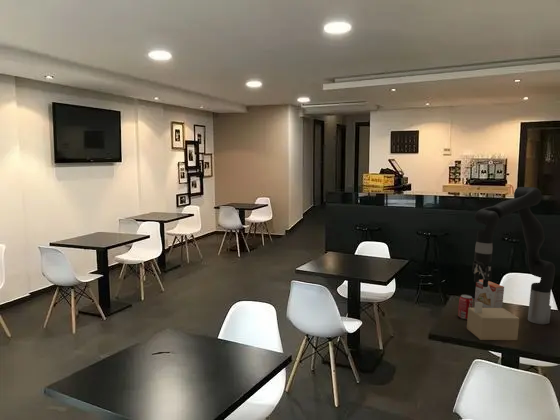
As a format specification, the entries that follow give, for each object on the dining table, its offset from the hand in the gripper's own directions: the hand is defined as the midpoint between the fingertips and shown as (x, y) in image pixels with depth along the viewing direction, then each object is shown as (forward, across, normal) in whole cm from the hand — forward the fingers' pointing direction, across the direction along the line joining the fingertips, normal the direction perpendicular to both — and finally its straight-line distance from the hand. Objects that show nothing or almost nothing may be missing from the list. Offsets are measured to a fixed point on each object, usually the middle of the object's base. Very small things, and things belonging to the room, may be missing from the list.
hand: (480, 284), depth 213 cm
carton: (+25, 0, -8) cm, 26 cm away
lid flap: (+15, 0, -8) cm, 17 cm away
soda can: (+25, +22, -4) cm, 34 cm away
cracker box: (+25, +18, -14) cm, 34 cm away
